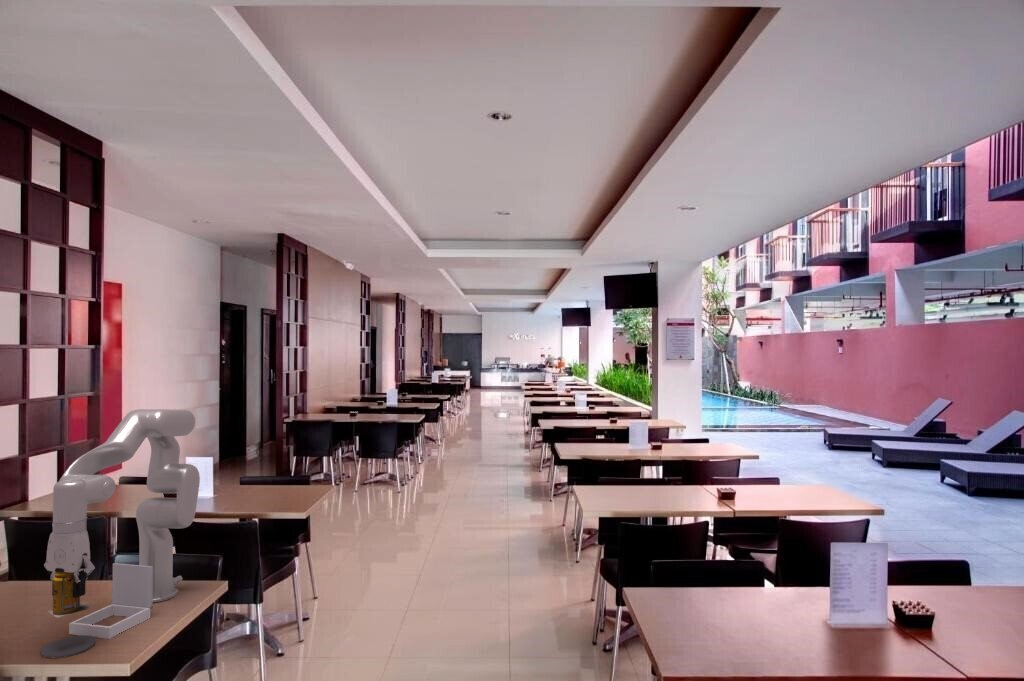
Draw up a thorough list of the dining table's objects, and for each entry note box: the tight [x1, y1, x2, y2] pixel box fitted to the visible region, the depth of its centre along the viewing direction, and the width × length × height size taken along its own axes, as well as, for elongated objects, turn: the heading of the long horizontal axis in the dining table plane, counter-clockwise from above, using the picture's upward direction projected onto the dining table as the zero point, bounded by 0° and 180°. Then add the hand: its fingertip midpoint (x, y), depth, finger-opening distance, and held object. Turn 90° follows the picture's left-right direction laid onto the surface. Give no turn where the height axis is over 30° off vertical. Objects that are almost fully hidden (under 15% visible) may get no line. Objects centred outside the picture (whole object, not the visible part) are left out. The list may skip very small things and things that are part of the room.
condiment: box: [47, 568, 94, 619], centre depth 176 cm, size 7×8×12 cm
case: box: [68, 562, 153, 640], centre depth 191 cm, size 16×14×15 cm
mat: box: [40, 635, 96, 658], centre depth 176 cm, size 12×12×1 cm
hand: (68, 594), depth 176 cm, fingers closed on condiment, 6 cm apart
